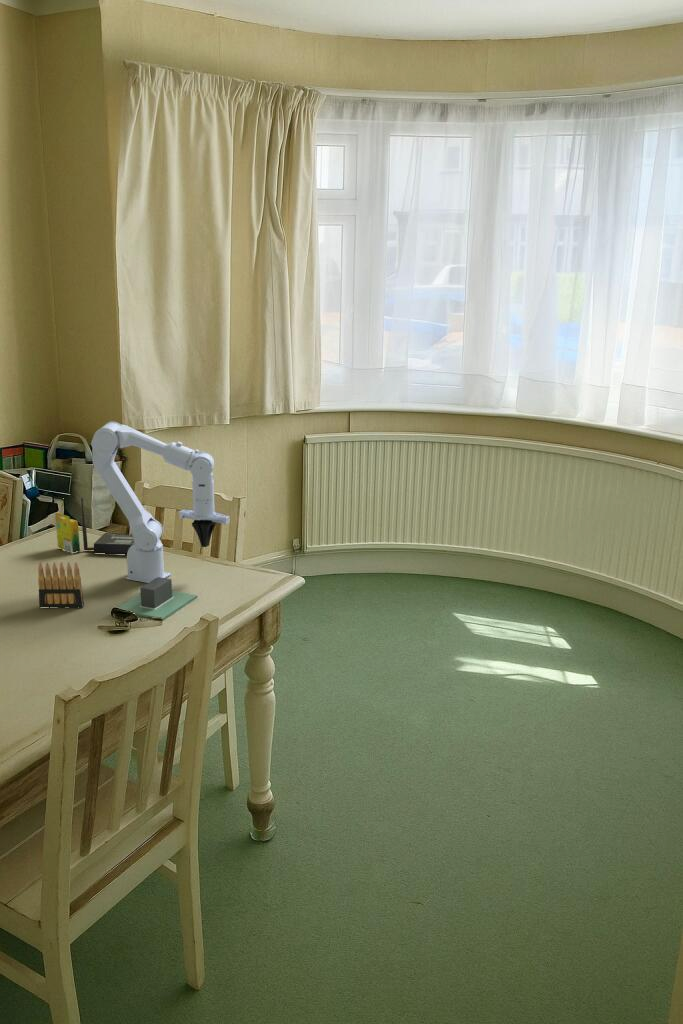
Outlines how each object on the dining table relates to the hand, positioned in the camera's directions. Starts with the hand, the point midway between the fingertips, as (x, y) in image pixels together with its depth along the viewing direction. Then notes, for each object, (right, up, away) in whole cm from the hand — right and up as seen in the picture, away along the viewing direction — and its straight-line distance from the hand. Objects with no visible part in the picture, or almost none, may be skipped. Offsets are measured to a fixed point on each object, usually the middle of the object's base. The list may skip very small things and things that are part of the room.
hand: (205, 545), depth 232 cm
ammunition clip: (-33, -15, -18) cm, 41 cm away
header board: (-10, -14, -15) cm, 23 cm away
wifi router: (-30, -3, +25) cm, 39 cm away
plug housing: (-10, -14, -15) cm, 23 cm away
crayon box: (-44, -3, +23) cm, 50 cm away
